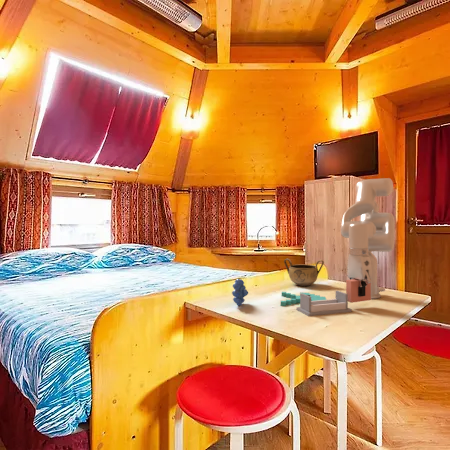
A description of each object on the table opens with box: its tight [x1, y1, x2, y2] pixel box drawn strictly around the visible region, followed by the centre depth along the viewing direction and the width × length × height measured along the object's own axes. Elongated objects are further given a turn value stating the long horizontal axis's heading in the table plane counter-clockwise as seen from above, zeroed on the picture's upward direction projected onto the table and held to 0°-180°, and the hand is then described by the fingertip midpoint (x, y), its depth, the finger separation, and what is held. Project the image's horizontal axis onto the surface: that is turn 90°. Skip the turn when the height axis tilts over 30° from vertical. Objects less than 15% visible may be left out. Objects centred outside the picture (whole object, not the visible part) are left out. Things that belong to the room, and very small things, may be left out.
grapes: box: [231, 278, 249, 307], centre depth 137 cm, size 12×7×12 cm, turn 156°
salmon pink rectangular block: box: [345, 279, 372, 303], centre depth 134 cm, size 10×3×9 cm, turn 107°
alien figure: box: [280, 291, 327, 307], centre depth 145 cm, size 20×2×20 cm
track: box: [296, 290, 353, 317], centre depth 129 cm, size 20×9×7 cm, turn 107°
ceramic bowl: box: [283, 258, 325, 287], centre depth 181 cm, size 22×17×15 cm
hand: (358, 294), depth 134 cm, fingers closed on salmon pink rectangular block, 3 cm apart
